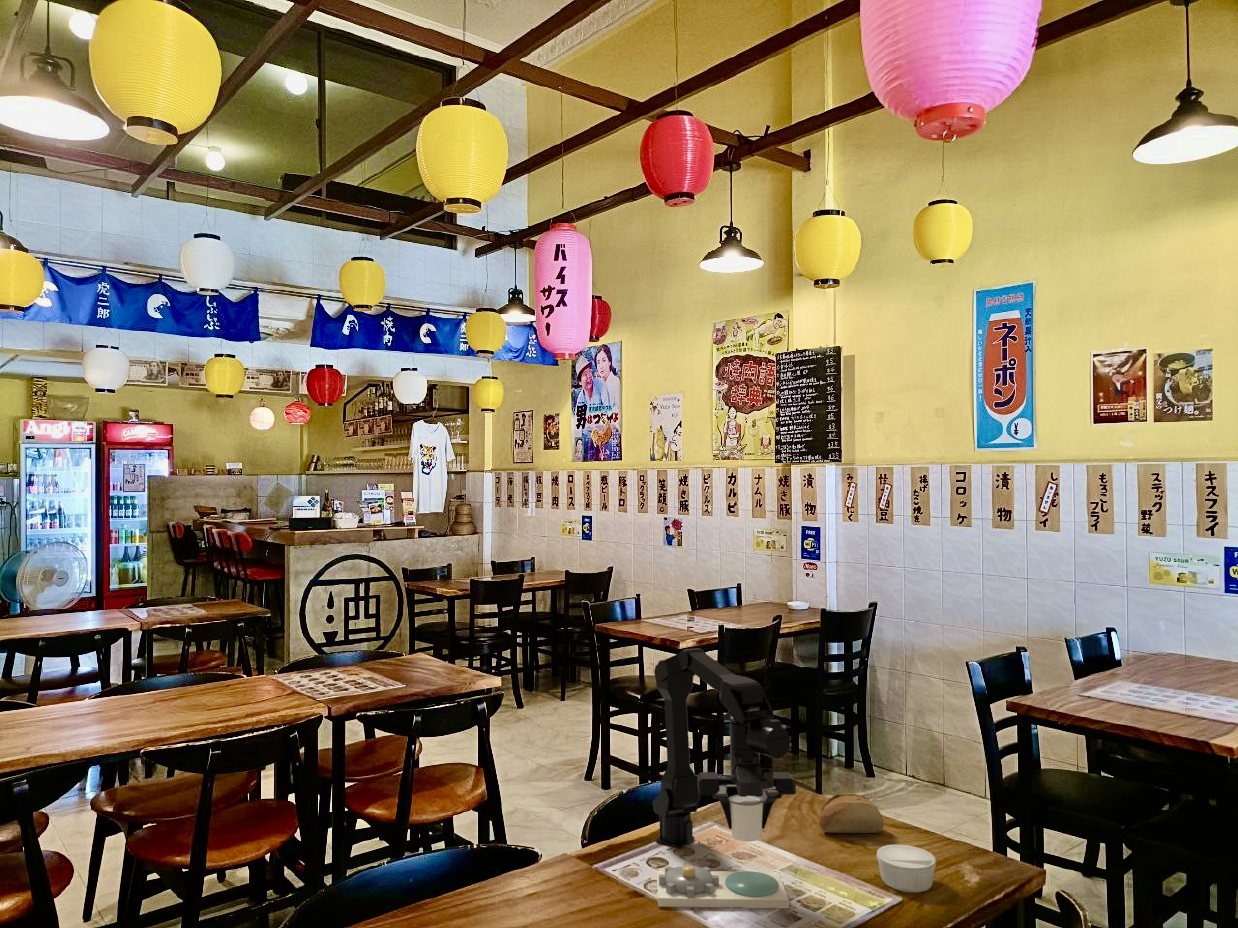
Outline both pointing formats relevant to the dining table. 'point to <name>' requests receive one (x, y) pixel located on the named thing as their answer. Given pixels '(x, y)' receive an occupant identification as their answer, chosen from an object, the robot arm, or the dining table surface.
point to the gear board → (719, 888)
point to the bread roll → (850, 815)
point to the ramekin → (906, 867)
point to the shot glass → (746, 817)
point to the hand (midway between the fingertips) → (746, 828)
